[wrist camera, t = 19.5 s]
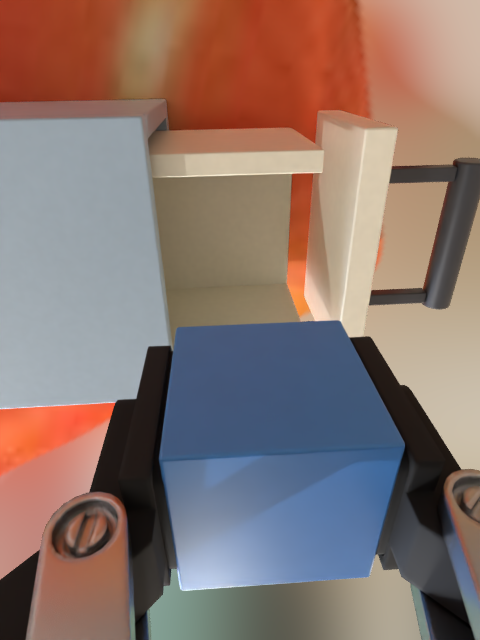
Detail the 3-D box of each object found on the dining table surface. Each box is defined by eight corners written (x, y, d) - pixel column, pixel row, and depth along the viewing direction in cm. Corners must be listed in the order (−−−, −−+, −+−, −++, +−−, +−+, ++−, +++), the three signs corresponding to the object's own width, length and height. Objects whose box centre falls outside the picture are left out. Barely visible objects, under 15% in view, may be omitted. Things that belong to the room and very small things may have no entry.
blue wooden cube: (175, 325, 10) (158, 458, 6) (340, 318, 10) (407, 444, 7) (188, 443, 12) (179, 592, 9) (325, 436, 12) (371, 578, 9)
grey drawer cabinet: (166, 98, 21) (141, 115, 13) (185, 303, 27) (176, 399, 19) (-119, 104, 20) (-329, 126, 12) (-33, 313, 26) (-137, 417, 18)
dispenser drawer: (444, 107, 21) (546, 123, 15) (405, 291, 26) (467, 361, 20) (85, 115, 20) (29, 136, 14) (120, 304, 25) (92, 381, 19)
